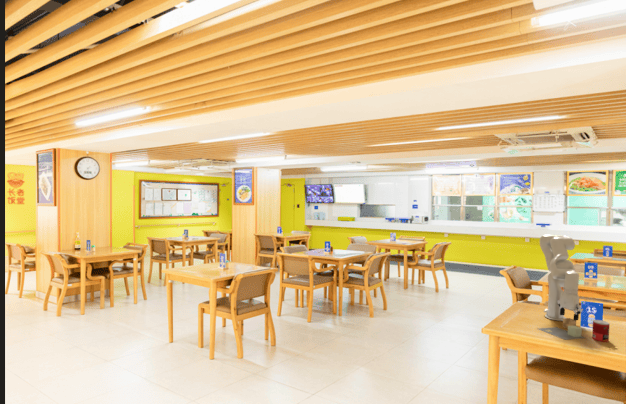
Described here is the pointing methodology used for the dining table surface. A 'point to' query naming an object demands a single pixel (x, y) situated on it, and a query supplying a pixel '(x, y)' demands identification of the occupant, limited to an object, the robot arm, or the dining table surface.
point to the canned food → (600, 330)
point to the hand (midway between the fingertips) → (568, 317)
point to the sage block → (575, 331)
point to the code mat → (559, 333)
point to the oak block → (568, 322)
